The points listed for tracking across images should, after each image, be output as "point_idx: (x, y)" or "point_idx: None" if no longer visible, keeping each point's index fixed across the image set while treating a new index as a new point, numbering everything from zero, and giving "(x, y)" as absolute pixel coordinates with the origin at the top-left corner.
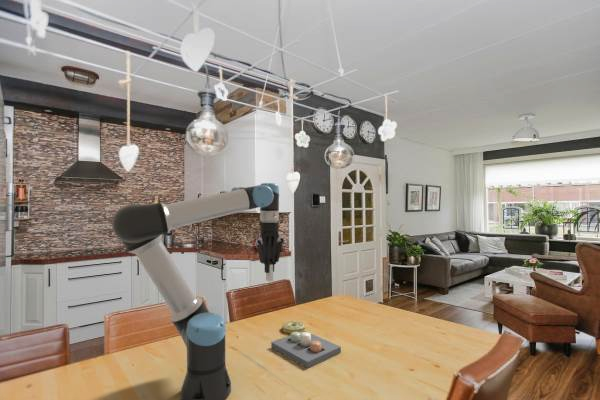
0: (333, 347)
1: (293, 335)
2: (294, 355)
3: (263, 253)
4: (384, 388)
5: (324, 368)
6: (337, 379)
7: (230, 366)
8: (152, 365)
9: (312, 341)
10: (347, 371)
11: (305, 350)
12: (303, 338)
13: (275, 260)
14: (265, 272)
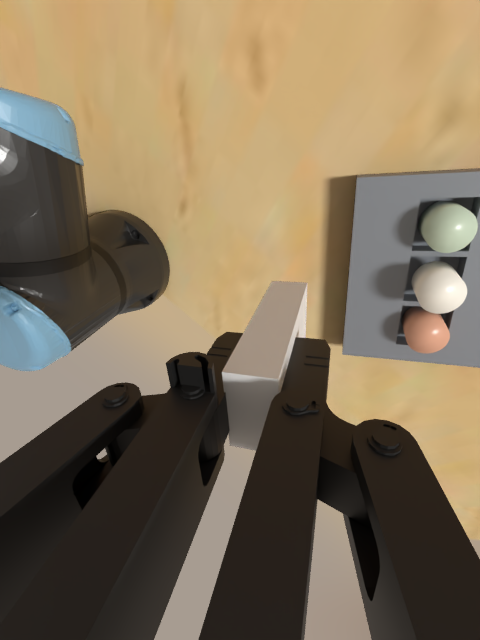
0: (476, 357)
1: (429, 237)
2: (346, 304)
3: (9, 605)
4: None
5: (381, 364)
6: (362, 405)
7: (199, 189)
8: (14, 17)
9: (431, 321)
10: (409, 406)
11: (393, 310)
12: (417, 299)
13: (341, 497)
14: (227, 339)
